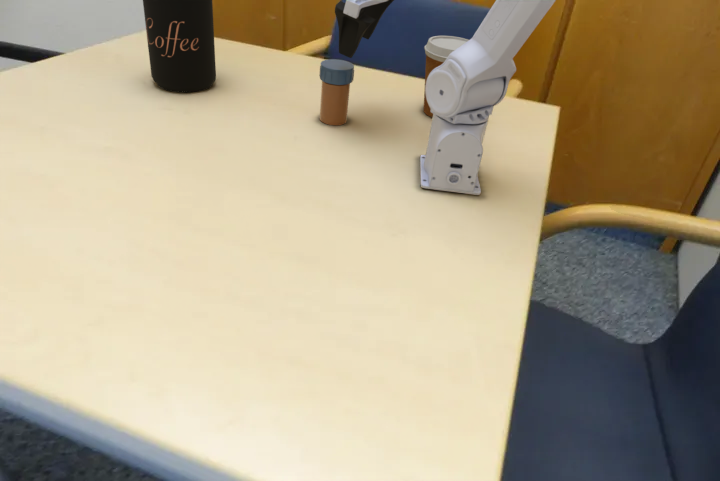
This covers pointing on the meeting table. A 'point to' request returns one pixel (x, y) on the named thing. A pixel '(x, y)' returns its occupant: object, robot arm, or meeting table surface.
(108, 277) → the meeting table surface
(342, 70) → the lid
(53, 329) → the meeting table surface
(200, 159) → the meeting table surface
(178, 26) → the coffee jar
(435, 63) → the disposable coffee cup
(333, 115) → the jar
